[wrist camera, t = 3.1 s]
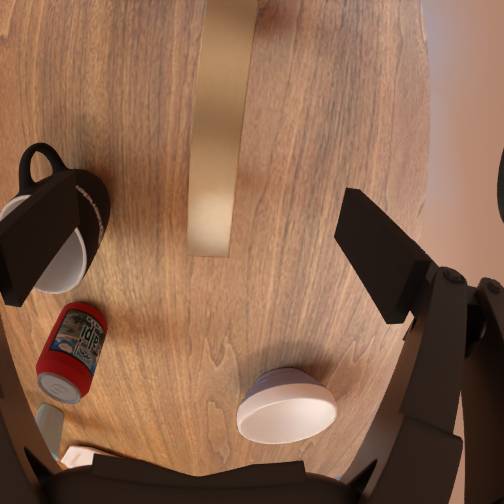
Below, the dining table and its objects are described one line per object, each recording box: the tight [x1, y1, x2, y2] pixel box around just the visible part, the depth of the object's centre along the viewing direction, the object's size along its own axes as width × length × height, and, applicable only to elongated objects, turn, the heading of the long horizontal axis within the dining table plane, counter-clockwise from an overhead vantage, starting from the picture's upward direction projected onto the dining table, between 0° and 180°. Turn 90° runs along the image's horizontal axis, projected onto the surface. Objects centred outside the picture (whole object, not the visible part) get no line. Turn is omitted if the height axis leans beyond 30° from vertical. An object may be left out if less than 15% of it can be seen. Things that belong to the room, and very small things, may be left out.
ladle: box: [187, 0, 259, 258], centre depth 19 cm, size 18×4×14 cm, turn 173°
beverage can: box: [36, 302, 107, 404], centre depth 32 cm, size 7×7×12 cm
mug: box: [0, 143, 110, 294], centre depth 24 cm, size 12×9×10 cm
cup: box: [35, 404, 64, 461], centre depth 45 cm, size 8×8×10 cm
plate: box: [61, 446, 122, 468], centre depth 63 cm, size 25×25×2 cm
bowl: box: [237, 368, 337, 444], centre depth 44 cm, size 14×14×8 cm
